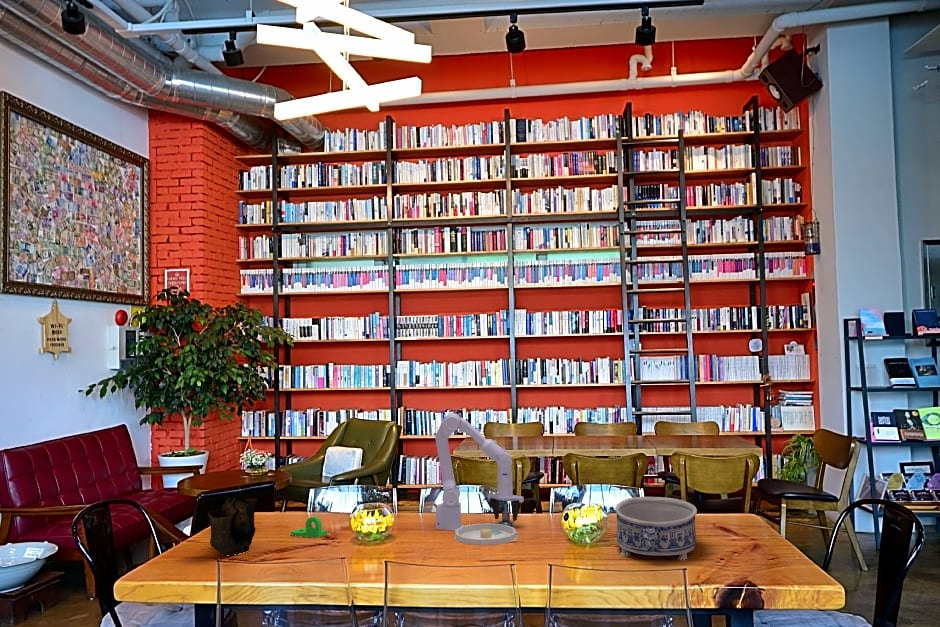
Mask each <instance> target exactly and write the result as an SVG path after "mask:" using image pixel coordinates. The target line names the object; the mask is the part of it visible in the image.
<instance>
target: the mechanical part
mask: <svg viewBox="0 0 940 627" xmlns="http://www.w3.org/2000/svg"><path fill="white" fill-rule="evenodd" d="M313 523H314V525H315V527H313ZM322 527H323V526H322V521H321V519H320V518H319V517H318V516H316V515H315V516H311V517H309V518H307V520H306V522H305V528H298V529H295V530H292V531H291V532H290V536H291V535H296V536H295V537H299V536H306V537H305V538H312V537H320V538H322V537H324V536H326V535H328V530H327V529H322ZM325 534H326V535H325ZM323 535H324V536H323ZM321 536H322V537H321Z"/></svg>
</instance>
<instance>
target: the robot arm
mask: <svg viewBox="0 0 940 627" xmlns="http://www.w3.org/2000/svg"><path fill="white" fill-rule="evenodd" d="M457 430H458V433H464V434H467V435H468V436H469V437H470V438H471V439H473V441H475V442H476V443H477V444H478V445H479V446H481V447H480V448H481V451H482V452H483V453H484V454H485V455H486V456H488V457H489V458H490V459H491V460H492V461H493V462H496V465H497V493H488V494H487V500H488V504H489V506H490V507H491V510H492V512H493V516H494V520H497V519H500V502H501V501H506V502H512V503H510V504H511V509H512V510H511V511H512V521H514V522H516V521H517V520H518V515H519V511H520V508H521V506H522V504H523V503H524V501H525V500H524V496H520V495H517V494H516V495H515V494H513V493H514V492H513V491H514V490H513V488H514V487H513V467H512V465H513V458H512V456H511V454H510V453H509V452H508V451H507V450H506V448H502V447H501V446H499V445H498V444H497V440H495V439H494V440H493V439H491V438H490V439H487V438H486V437H485V436H484V435H483V434H481V433H480V432H479V431H478V430H477V429H476V428H475V427H474V426H473V425H472V424H471V423H470V422H468V421H467V420H466V419H464V418H463V417H460V415H459V414H458V413H456V412H451V413H448V414H447V415H446V416H445V417H444V418H443V420H442V421H441V423H440V425H439V427H438V430H437V431H436V434H435V436H434V439H435V444H436V449H437V456H438V461H439V468H440V473H441V479H442V489H443V490H442V491H443V494H442V503H439V504H438V505H436V508H435V528H434V529H439V530H446V531H447V530H448V531H455V530H457V529H459V528H461V527H463V526H466V525H465V524H462V507H461V506H462V503H461V502H460V495H461V492H460V489H459V488H458V486H457V482H456V479H455V473H454V469H453V463H452V457H451V452H450V445H449V438H450V437H451V435H452V434H453V433H454V432H457Z"/></svg>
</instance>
